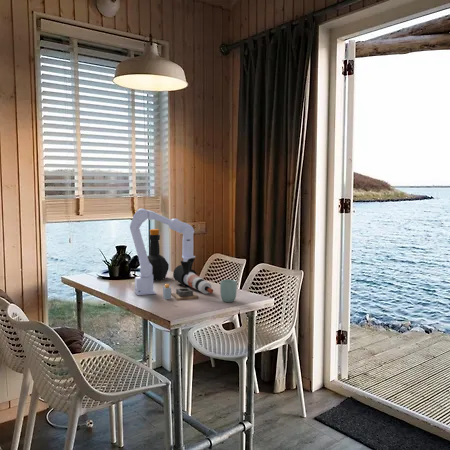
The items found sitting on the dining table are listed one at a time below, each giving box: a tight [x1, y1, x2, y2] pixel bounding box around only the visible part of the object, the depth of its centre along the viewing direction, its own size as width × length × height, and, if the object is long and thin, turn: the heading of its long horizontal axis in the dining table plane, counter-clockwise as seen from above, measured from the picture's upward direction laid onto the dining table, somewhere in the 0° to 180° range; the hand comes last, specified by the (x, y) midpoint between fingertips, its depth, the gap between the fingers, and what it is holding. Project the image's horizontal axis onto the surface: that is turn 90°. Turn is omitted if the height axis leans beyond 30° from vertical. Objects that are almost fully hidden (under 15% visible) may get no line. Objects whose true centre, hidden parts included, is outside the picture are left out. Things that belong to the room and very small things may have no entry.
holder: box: [171, 287, 199, 301], centre depth 223 cm, size 11×11×4 cm
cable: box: [172, 264, 214, 295], centre depth 240 cm, size 10×34×10 cm, turn 33°
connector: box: [162, 283, 172, 300], centre depth 220 cm, size 3×4×7 cm
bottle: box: [147, 228, 170, 282], centre depth 265 cm, size 16×16×30 cm
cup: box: [219, 279, 238, 303], centre depth 215 cm, size 8×8×10 cm
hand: (187, 273), depth 233 cm, fingers open, 7 cm apart
